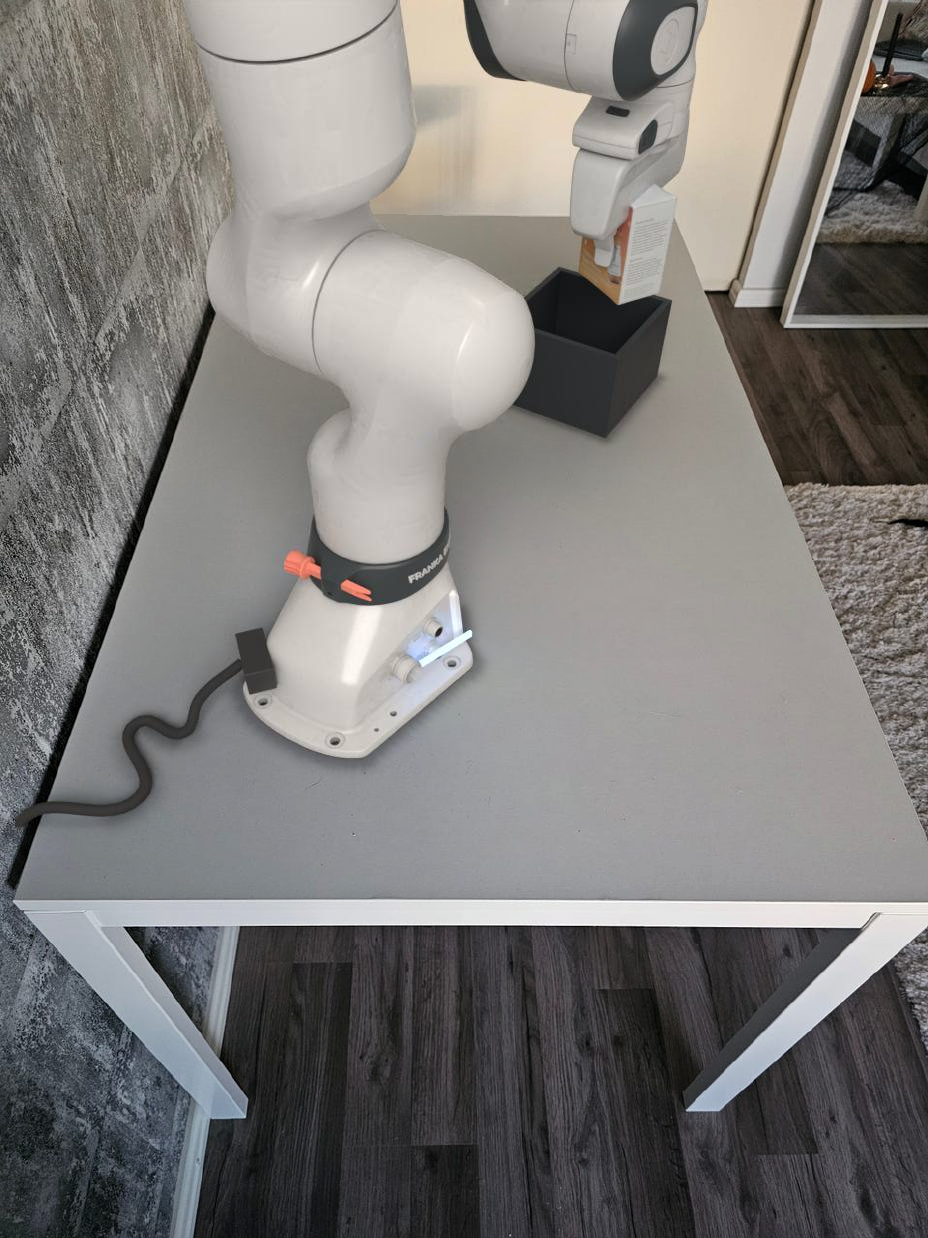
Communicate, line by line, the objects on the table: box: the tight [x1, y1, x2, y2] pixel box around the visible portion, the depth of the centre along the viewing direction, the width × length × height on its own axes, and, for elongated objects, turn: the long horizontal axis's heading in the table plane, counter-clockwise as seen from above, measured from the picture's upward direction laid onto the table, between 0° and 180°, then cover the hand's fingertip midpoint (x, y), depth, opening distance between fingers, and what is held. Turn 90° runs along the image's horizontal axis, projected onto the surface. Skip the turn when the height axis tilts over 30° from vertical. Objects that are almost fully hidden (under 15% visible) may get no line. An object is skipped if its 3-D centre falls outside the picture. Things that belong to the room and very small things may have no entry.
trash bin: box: [512, 266, 673, 439], centre depth 113 cm, size 16×16×11 cm
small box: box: [577, 184, 678, 305], centre depth 96 cm, size 8×6×10 cm
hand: (622, 246), depth 97 cm, fingers closed on small box, 7 cm apart
